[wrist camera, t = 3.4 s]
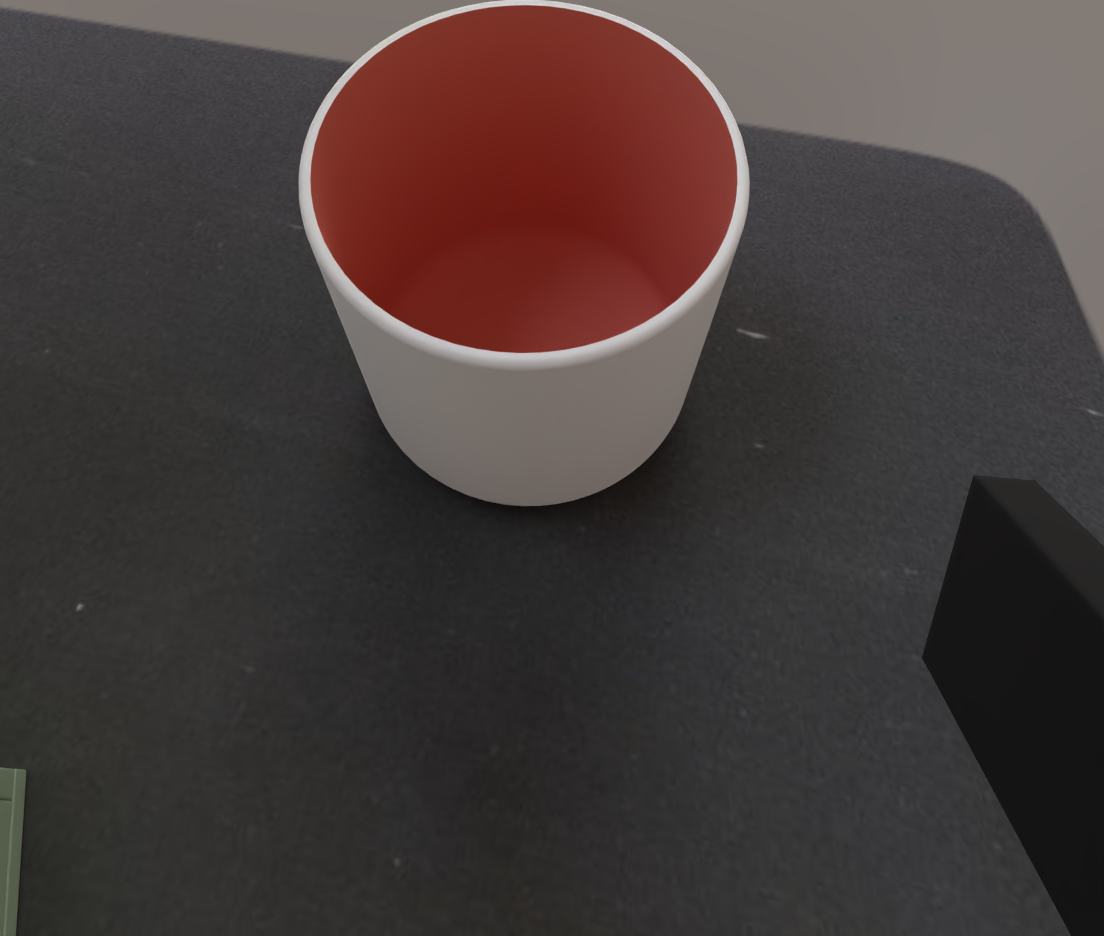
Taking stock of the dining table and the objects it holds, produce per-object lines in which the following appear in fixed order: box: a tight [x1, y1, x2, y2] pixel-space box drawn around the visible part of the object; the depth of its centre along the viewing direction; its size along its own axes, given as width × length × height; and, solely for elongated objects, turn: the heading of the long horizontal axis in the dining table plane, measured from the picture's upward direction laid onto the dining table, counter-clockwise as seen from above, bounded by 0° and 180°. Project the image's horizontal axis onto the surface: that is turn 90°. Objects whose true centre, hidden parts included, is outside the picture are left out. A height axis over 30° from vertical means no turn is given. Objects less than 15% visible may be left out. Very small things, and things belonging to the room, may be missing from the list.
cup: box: [299, 0, 749, 506], centre depth 25 cm, size 10×10×10 cm
